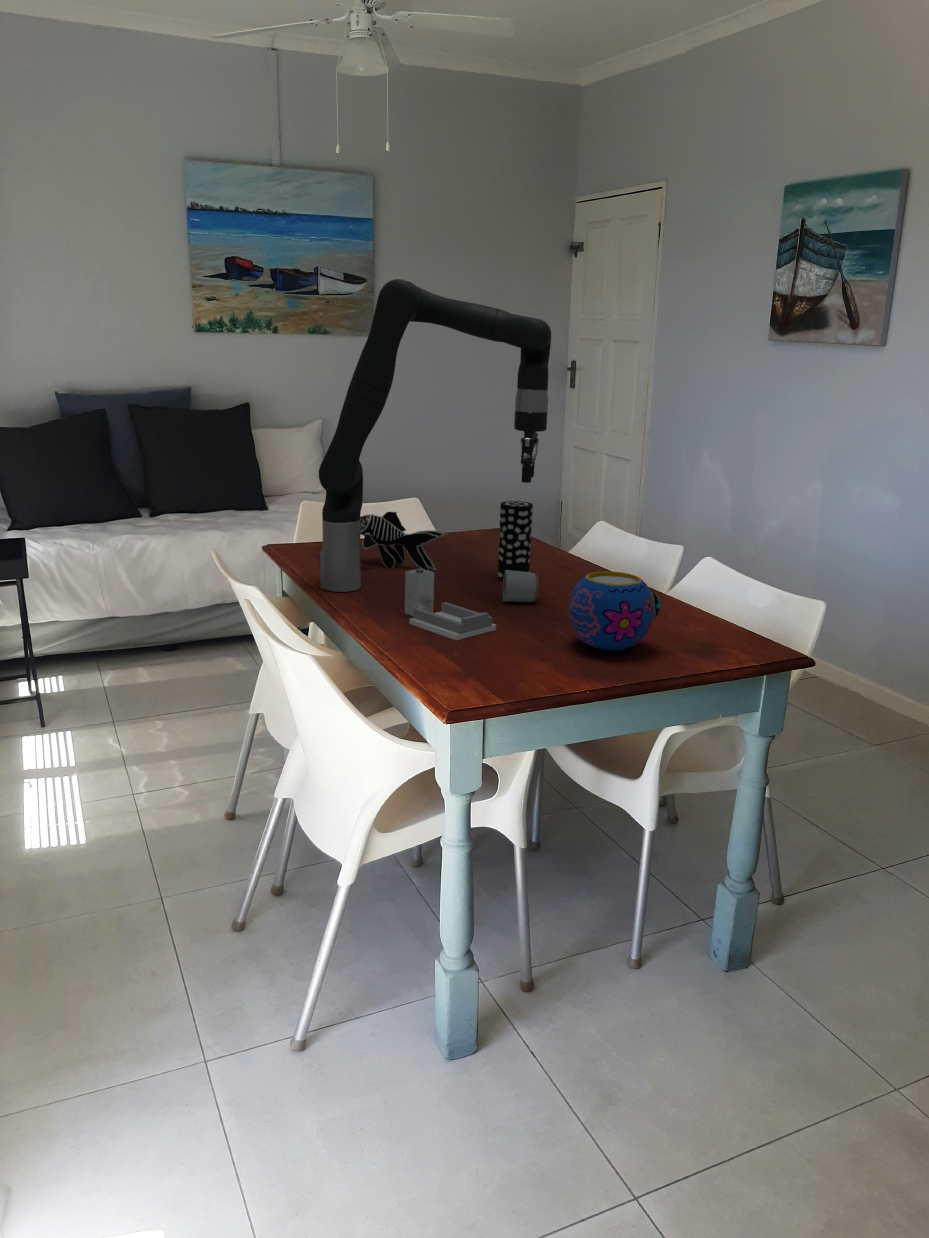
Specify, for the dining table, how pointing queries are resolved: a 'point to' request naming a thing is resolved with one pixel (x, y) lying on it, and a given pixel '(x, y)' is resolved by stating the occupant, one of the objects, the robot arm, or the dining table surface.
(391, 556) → the decorative fish
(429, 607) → the aluminium block
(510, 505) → the spotted tube
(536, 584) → the ceramic mug
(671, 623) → the dining table surface
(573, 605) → the ceramic pot
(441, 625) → the grey open box
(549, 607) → the dining table surface
